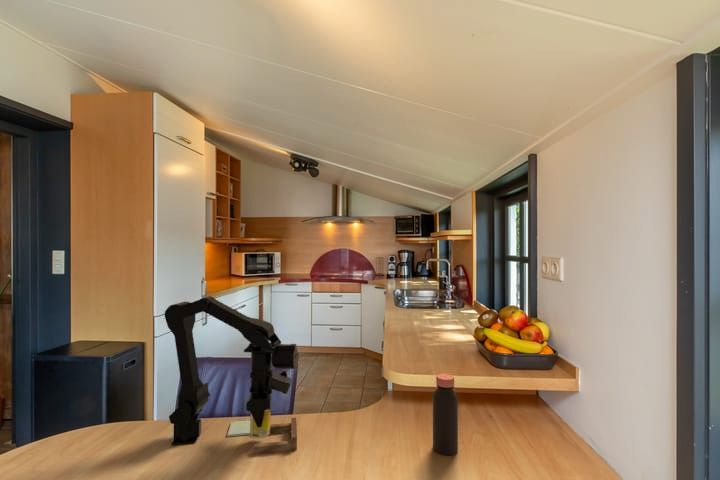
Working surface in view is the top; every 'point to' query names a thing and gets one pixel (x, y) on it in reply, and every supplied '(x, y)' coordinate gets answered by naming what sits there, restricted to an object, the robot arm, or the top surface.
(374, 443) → the top surface
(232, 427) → the coaster
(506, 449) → the top surface
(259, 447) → the frame
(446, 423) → the black water bottle
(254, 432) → the supplement bottle
